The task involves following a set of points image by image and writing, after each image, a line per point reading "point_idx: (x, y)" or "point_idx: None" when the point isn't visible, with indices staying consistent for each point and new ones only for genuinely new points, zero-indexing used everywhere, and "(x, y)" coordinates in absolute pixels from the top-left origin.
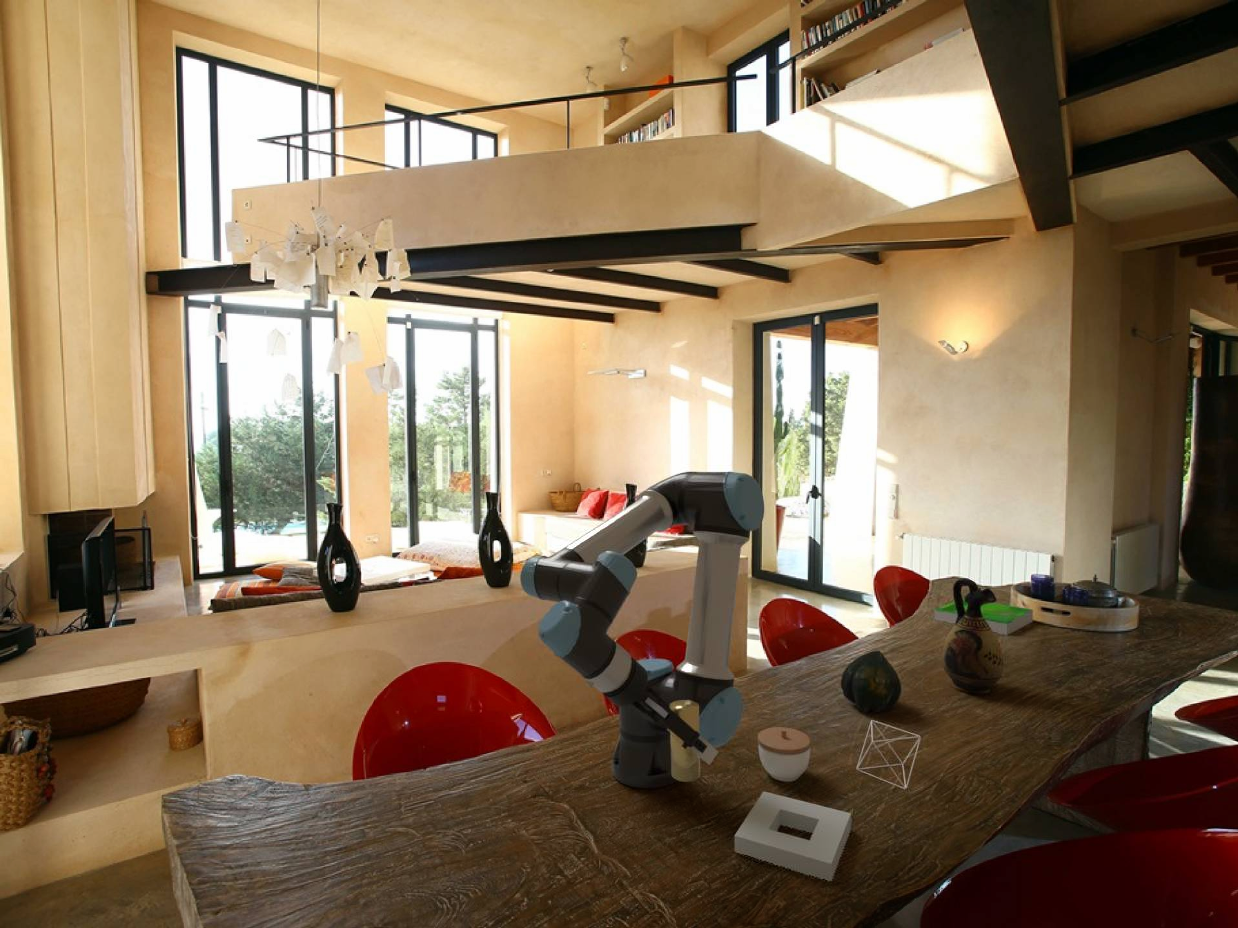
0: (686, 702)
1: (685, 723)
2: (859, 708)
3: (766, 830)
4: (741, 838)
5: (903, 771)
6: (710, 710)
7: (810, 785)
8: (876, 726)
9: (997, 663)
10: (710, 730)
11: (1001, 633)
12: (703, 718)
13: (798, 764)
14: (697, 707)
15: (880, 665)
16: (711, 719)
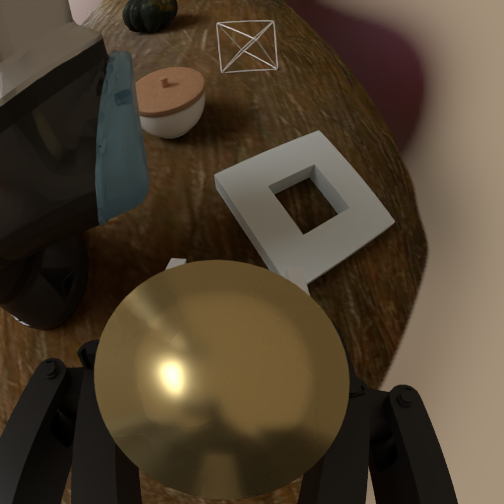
0: (163, 328)
1: (447, 483)
2: (151, 31)
3: (304, 240)
4: None
5: (252, 55)
6: (116, 149)
7: (214, 117)
8: (221, 27)
9: None
10: (141, 189)
11: None
12: (109, 182)
13: (203, 105)
14: (313, 312)
15: None
16: (133, 167)
